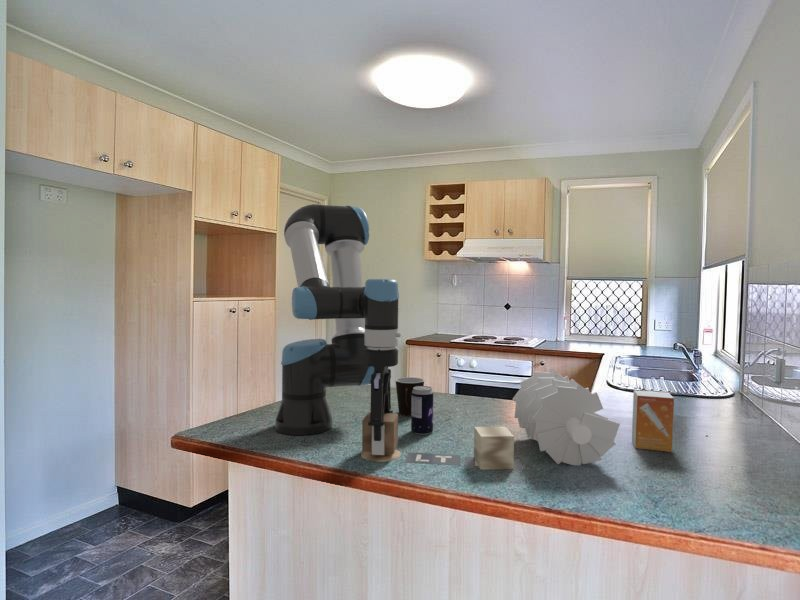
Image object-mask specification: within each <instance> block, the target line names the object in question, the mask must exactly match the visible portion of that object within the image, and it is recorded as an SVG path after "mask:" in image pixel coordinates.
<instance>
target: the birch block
mask: <svg viewBox="0 0 800 600" xmlns="http://www.w3.org/2000/svg"><path fill="white" fill-rule="evenodd" d="M473 429H474V431H473V432H474V433H473V444H474V445H473V457H474V459H475V461H476V462H477V464H478V466H479V468H478V469H480V471H481V470H483V471H484V470H503V469H514V459H515V457H514V455H515V453H514V452H515V435H513V434H512V432H511V431H510V430H509V429H508V427H506V426H474V427H473Z"/></svg>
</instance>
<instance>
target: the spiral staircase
mask: <svg viewBox="0 0 800 600" xmlns="http://www.w3.org/2000/svg"><path fill="white" fill-rule="evenodd" d="M519 385H520V388H519V389H518V391H517V392H516V393H515V395H514V396H513V397H512V401H514V402H515V410H514V416H513V417H514V419H517V421H518V427H519V428H521V429H524V431H525V433H526V437H527V438H528V439H529V438H530V439H531V440H534V441H537V443H538V446H539V447H538V448H539V451H540V452H544V451H545V453H546V454H547V455H549V456H550V458H552V460H553V461H554V462H555V463H556V464H557V465H559V464H561V463H564V464H568V465H569V466H570V465H571V466H581V465H585V464H591V463H595V462H599V461H602V457H603V456H604V455H606V453H607V452H608V451H610V450H611V449H612V448H613V447H615V445H616V442H615V438H616V436H617V434H618V431H619V427H620V424H621V423H619V422H616V421H613V420H611V419H609V418H608V417H606V416H605V415H602V414H598V413H597V412H599V411H602V410H603V409H604V407H603V405H602V402H601V400H600V397H599V395H598V392H597V391H595V392H590V388H589V387H584V386H582V385H581V384H579V383H578V382H577V381H576V380H575V379H574V378H571V379H570V378H569V376H568V375H565V376H563V375H561V374H559V373H558V372H556V371H555V370H553V369H550V371H549V372H548V371H546V372H545V371H533V375H532V376H530V377H528V378H526V379H523V380H521V381H519Z"/></svg>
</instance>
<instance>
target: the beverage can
mask: <svg viewBox="0 0 800 600" xmlns="http://www.w3.org/2000/svg"><path fill="white" fill-rule="evenodd" d="M410 417H411V419H410V422H411V423H410V425H411V426H410V431H411V432H412V433H413V434H415V435H420V436H425V435H426V436H427V435H430V434H432V432H433V431H434V391H433V388H432V387H431V386H427V385H424V386H416V387H413V391H412V400H411V416H410Z"/></svg>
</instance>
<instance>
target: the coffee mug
mask: <svg viewBox="0 0 800 600" xmlns="http://www.w3.org/2000/svg"><path fill="white" fill-rule="evenodd" d="M424 384H425V379H424V378H420V377H411V376H409V377H408V376H407V377H406V376H405V377H397V378H396V379H395V388H396V396H397V397H396V399H397V407H398V408H397V409H398V415H400V414H401V415H400V416H403V415H405V417H411V400H412V391H413V387H416V386H425V385H424Z"/></svg>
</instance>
